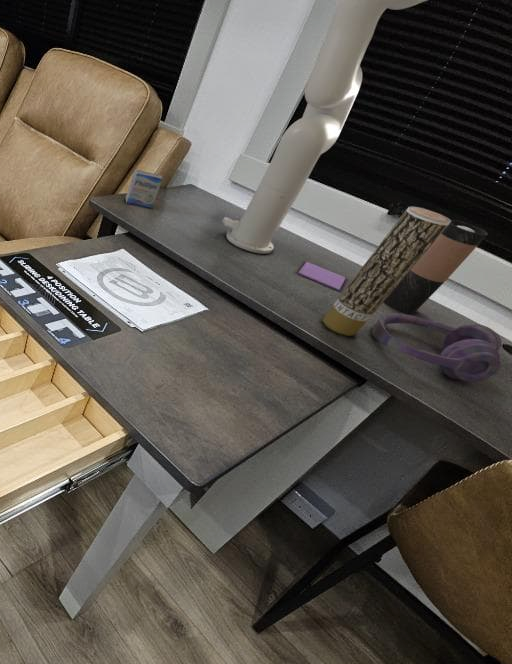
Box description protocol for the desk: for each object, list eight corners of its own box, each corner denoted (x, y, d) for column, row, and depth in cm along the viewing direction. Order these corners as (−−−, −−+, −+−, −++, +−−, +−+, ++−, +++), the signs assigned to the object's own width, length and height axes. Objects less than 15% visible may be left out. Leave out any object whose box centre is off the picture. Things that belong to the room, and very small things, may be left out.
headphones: (485, 360, 95) (373, 326, 106) (513, 326, 90) (393, 293, 101) (481, 397, 84) (357, 355, 95) (513, 361, 79) (378, 320, 90)
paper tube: (326, 315, 101) (411, 204, 84) (358, 330, 98) (453, 218, 81) (317, 325, 97) (405, 210, 80) (350, 341, 94) (448, 225, 77)
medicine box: (125, 203, 135) (136, 173, 129) (125, 198, 138) (135, 168, 132) (151, 208, 134) (163, 179, 129) (150, 203, 138) (161, 174, 132)
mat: (297, 273, 116) (298, 272, 115) (305, 262, 122) (306, 261, 122) (338, 290, 112) (339, 289, 111) (344, 278, 118) (345, 277, 118)
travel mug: (422, 317, 108) (496, 238, 94) (390, 309, 108) (459, 229, 95) (407, 300, 114) (475, 224, 100) (376, 293, 114) (440, 216, 101)
